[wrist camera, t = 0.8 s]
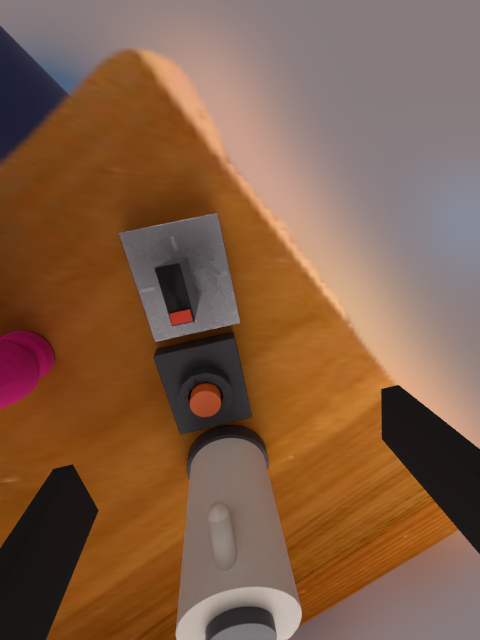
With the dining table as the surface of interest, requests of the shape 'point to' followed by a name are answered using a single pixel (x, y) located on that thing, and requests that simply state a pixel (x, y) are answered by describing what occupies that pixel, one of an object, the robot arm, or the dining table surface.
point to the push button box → (203, 380)
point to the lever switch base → (206, 267)
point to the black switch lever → (178, 290)
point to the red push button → (205, 400)
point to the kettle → (234, 545)
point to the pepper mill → (22, 364)
